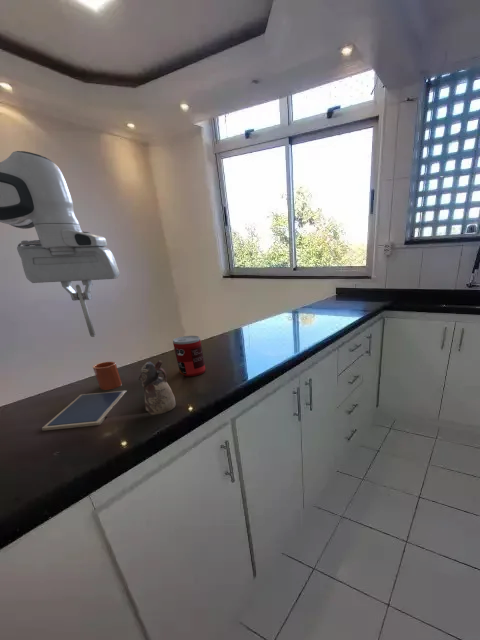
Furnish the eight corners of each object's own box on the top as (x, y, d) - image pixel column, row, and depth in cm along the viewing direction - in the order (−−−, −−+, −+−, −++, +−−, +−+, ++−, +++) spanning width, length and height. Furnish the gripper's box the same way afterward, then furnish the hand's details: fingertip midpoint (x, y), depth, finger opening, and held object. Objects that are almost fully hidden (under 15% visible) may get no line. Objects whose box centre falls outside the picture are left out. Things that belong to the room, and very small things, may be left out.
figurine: (146, 404, 79) (134, 359, 74) (176, 399, 81) (165, 355, 76) (144, 417, 73) (130, 369, 68) (176, 411, 75) (165, 364, 70)
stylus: (89, 337, 82) (73, 284, 77) (91, 336, 83) (76, 284, 78) (94, 337, 82) (79, 284, 77) (96, 336, 83) (81, 284, 78)
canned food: (180, 370, 101) (173, 337, 96) (205, 367, 103) (199, 334, 98) (179, 378, 95) (171, 343, 90) (206, 374, 97) (200, 340, 92)
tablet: (42, 430, 69) (41, 427, 69) (81, 396, 85) (80, 394, 85) (100, 425, 70) (98, 421, 70) (127, 392, 86) (126, 389, 86)
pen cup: (97, 392, 87) (88, 369, 84) (105, 384, 92) (98, 362, 89) (118, 390, 88) (110, 367, 85) (125, 382, 93) (118, 360, 90)
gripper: (4, 240, 69) (30, 304, 75) (101, 237, 72) (119, 299, 78) (22, 241, 75) (45, 300, 81) (112, 238, 77) (128, 295, 83)
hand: (82, 299), depth 79 cm, fingers closed on stylus, 1 cm apart
